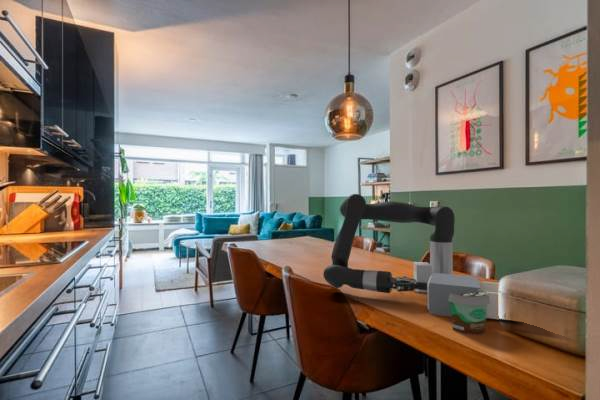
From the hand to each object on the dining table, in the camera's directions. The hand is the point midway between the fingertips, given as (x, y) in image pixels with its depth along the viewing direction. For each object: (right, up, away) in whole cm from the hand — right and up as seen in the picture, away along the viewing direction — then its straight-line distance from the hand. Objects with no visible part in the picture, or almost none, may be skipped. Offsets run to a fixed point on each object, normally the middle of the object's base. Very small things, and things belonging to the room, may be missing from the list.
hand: (429, 286), depth 103 cm
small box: (+6, -7, +19) cm, 21 cm away
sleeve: (+7, -6, -4) cm, 10 cm away
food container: (+4, -6, -21) cm, 22 cm away
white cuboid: (+11, -5, -6) cm, 14 cm away
